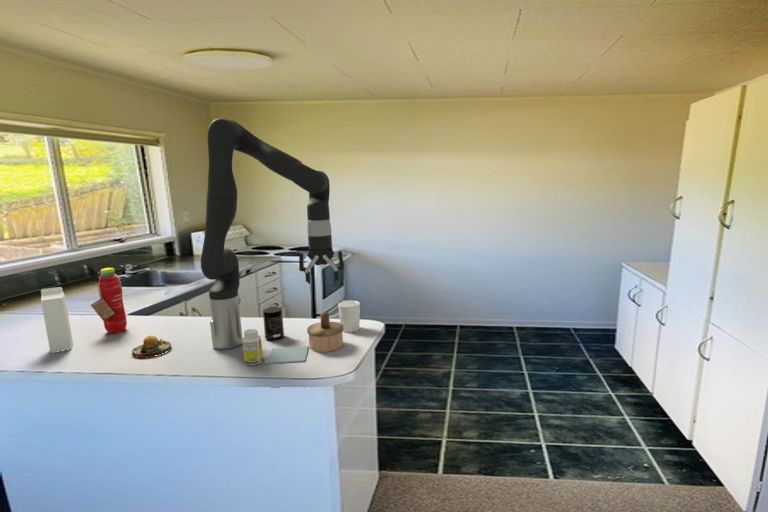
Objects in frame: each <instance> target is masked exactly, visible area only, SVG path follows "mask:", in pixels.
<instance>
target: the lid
mask: <svg viewBox="0 0 768 512" xmlns="http://www.w3.org/2000/svg"><path fill="white" fill-rule="evenodd" d="M329 313H330V312H329V311H321V312H319V314H320V322H315V323H313V324H311V325H309V326H307V329H306V330H307V334H308V336H309V335H312V336H317V337H326V336H333V335H336V334H339V333H341V332H342V333H343V329H344V328H343V324H341V323H340V322H337V321H330V314H329Z"/></svg>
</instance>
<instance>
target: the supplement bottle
mask: <svg viewBox="0 0 768 512" xmlns="http://www.w3.org/2000/svg"><path fill="white" fill-rule="evenodd" d="M243 336H244V337H243V338H242V350H243V351H242V352H243V358H244V359H243V361H244V364H245V365H247V366H257V365H260V364H261V363H263V361H264V358H263V357H264V356H263V348H262V347H263V346H262V337H261V335H259V332H258V329H255V328H251V329H246V330H244V333H243Z"/></svg>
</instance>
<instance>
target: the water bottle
mask: <svg viewBox="0 0 768 512" xmlns="http://www.w3.org/2000/svg"><path fill="white" fill-rule="evenodd" d="M100 274H101V275H100V277H99V279H98V282H97V285H98V286H97V288H98V293H99V299H98V300H96V301H95V302H93V303H91V304H90V307H92V309H93V310H94V312H95V313H96V314H97V315H98V317H99V318H100V319H101V320H102V322H103V325H104V329H105V330H106V332H107V333H109V334H118V333H117V332H119V333H122V332H124V331H126V329H127V324H128V321H127V315H126V310H125V306H124V300H123V288H122V282H121V279H120V278H121V277H119V275H117V273H115V267H105V268H101V269H100ZM121 331H122V332H121Z"/></svg>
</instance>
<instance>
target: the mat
mask: <svg viewBox="0 0 768 512" xmlns="http://www.w3.org/2000/svg"><path fill="white" fill-rule="evenodd" d="M309 348H310V345H301V346H286V347H285V346H283V347H272V348H271V351H270V352H269V354H268V357H267V359H266V361H265V365H272V364H273V365H274V364H286V363H287V364H288V363H289V364H290V363H303V362H306V359H307V355H308V351H309Z"/></svg>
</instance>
